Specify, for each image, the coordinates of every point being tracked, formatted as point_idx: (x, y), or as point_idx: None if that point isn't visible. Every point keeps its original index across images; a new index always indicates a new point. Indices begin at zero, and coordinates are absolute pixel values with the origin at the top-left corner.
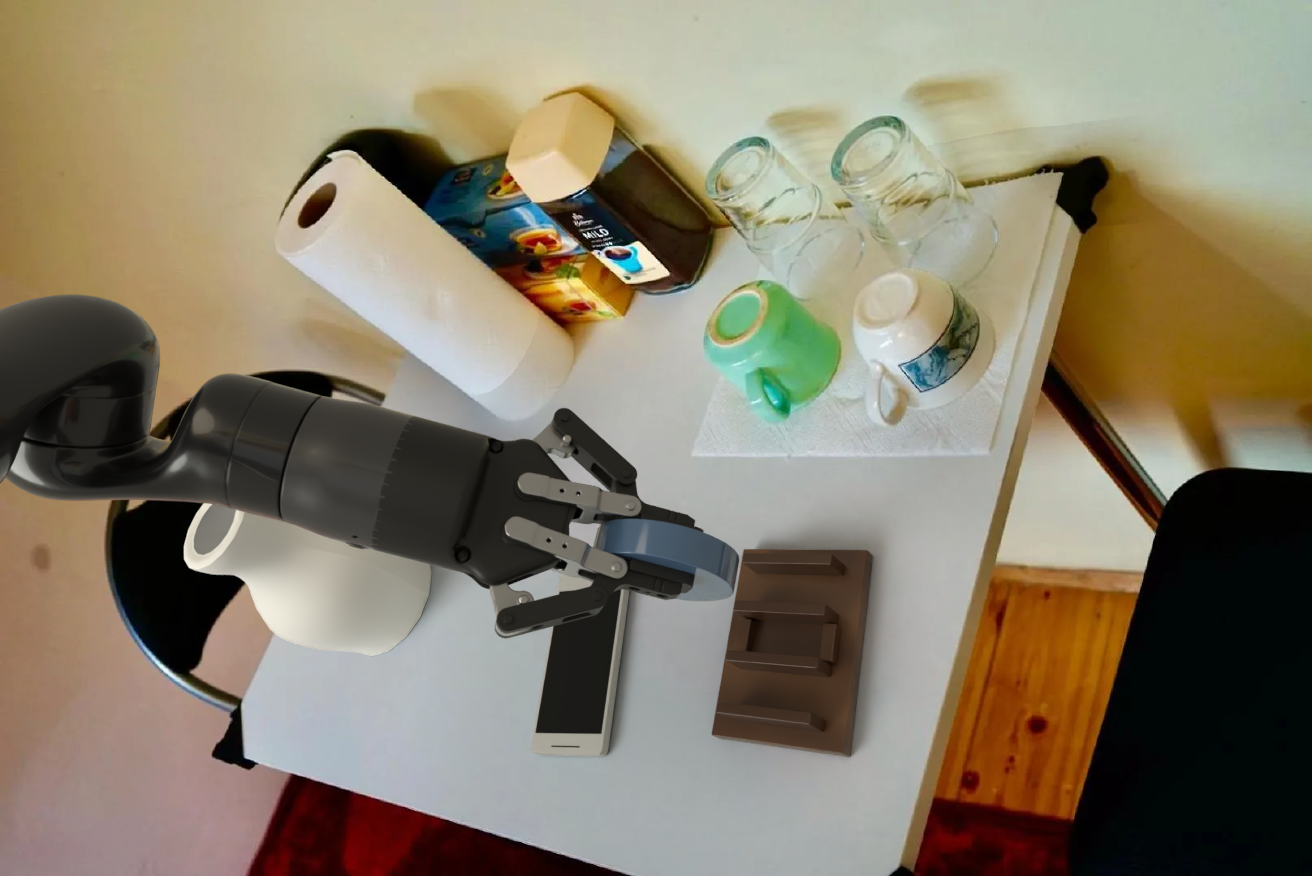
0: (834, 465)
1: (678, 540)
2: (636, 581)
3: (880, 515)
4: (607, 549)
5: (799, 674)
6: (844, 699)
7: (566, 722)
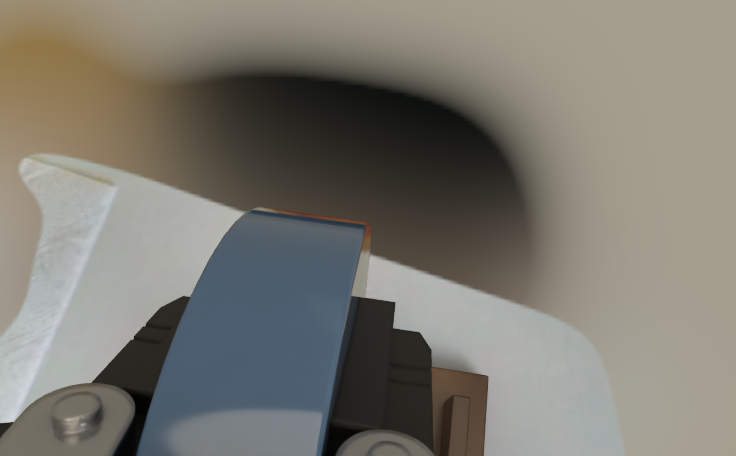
0: (43, 392)
1: (287, 235)
2: (414, 430)
3: None
4: None
5: None
6: None
7: None
